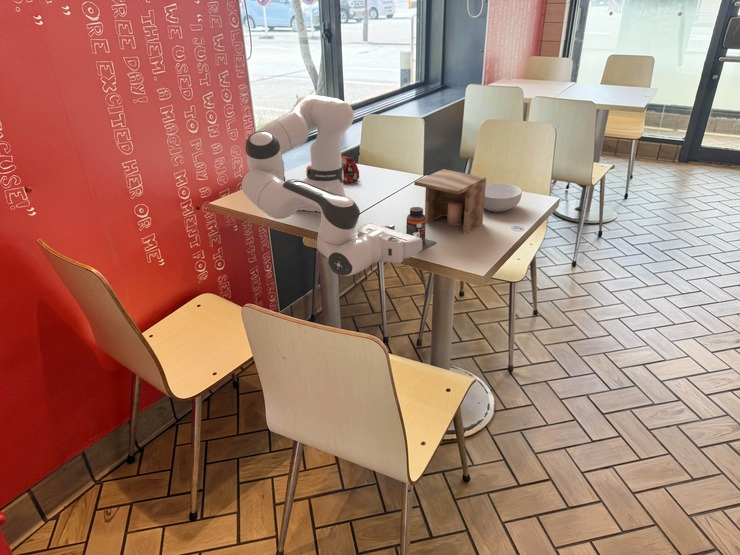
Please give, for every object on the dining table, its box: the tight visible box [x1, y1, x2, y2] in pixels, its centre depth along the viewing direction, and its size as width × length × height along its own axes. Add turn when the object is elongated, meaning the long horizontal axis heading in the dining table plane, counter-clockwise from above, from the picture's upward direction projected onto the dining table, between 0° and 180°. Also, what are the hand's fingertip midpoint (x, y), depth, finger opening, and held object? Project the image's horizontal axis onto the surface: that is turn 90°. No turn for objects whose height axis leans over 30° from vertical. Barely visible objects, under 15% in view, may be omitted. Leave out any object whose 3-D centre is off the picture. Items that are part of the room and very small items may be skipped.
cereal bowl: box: [484, 182, 523, 213], centre depth 196 cm, size 17×17×7 cm
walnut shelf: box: [414, 168, 487, 234], centre depth 179 cm, size 17×16×16 cm
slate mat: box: [419, 238, 437, 253], centre depth 170 cm, size 9×9×1 cm
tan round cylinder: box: [446, 201, 463, 226], centre depth 184 cm, size 5×5×7 cm
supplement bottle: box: [405, 206, 427, 245], centre depth 167 cm, size 6×6×11 cm
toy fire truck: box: [341, 155, 360, 184], centre depth 228 cm, size 7×12×10 cm, turn 51°
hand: (405, 230), depth 163 cm, fingers open, 8 cm apart
